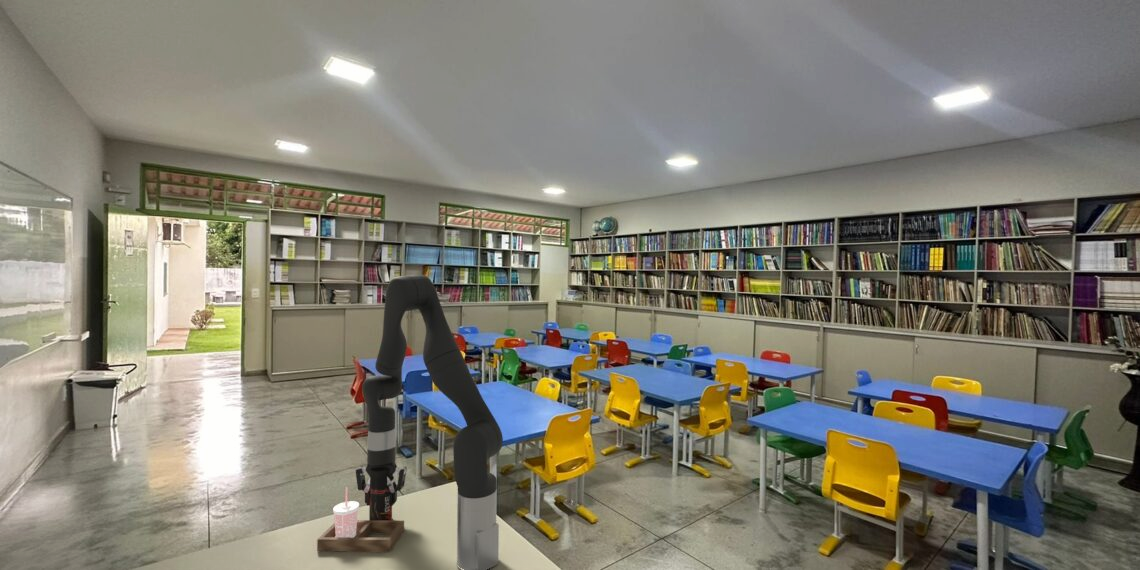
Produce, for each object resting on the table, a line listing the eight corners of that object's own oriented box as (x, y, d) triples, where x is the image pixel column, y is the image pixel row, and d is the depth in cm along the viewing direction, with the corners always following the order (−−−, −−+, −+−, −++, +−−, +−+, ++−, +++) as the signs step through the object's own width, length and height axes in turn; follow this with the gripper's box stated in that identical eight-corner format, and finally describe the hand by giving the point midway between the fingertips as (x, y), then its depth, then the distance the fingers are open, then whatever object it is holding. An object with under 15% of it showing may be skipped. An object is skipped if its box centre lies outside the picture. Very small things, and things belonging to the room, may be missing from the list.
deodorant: (383, 526, 124) (384, 472, 125) (364, 524, 126) (365, 470, 126) (396, 516, 130) (396, 464, 131) (377, 514, 131) (378, 462, 132)
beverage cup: (362, 534, 121) (362, 481, 121) (353, 547, 115) (354, 491, 115) (338, 535, 120) (338, 482, 120) (328, 548, 114) (329, 492, 114)
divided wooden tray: (404, 531, 122) (404, 520, 122) (389, 552, 112) (389, 539, 112) (337, 531, 122) (337, 520, 122) (317, 551, 112) (317, 539, 113)
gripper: (350, 449, 125) (349, 510, 124) (401, 449, 125) (401, 511, 124) (362, 440, 132) (361, 498, 132) (411, 440, 132) (410, 498, 132)
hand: (380, 504), depth 128 cm, fingers closed on deodorant, 6 cm apart
